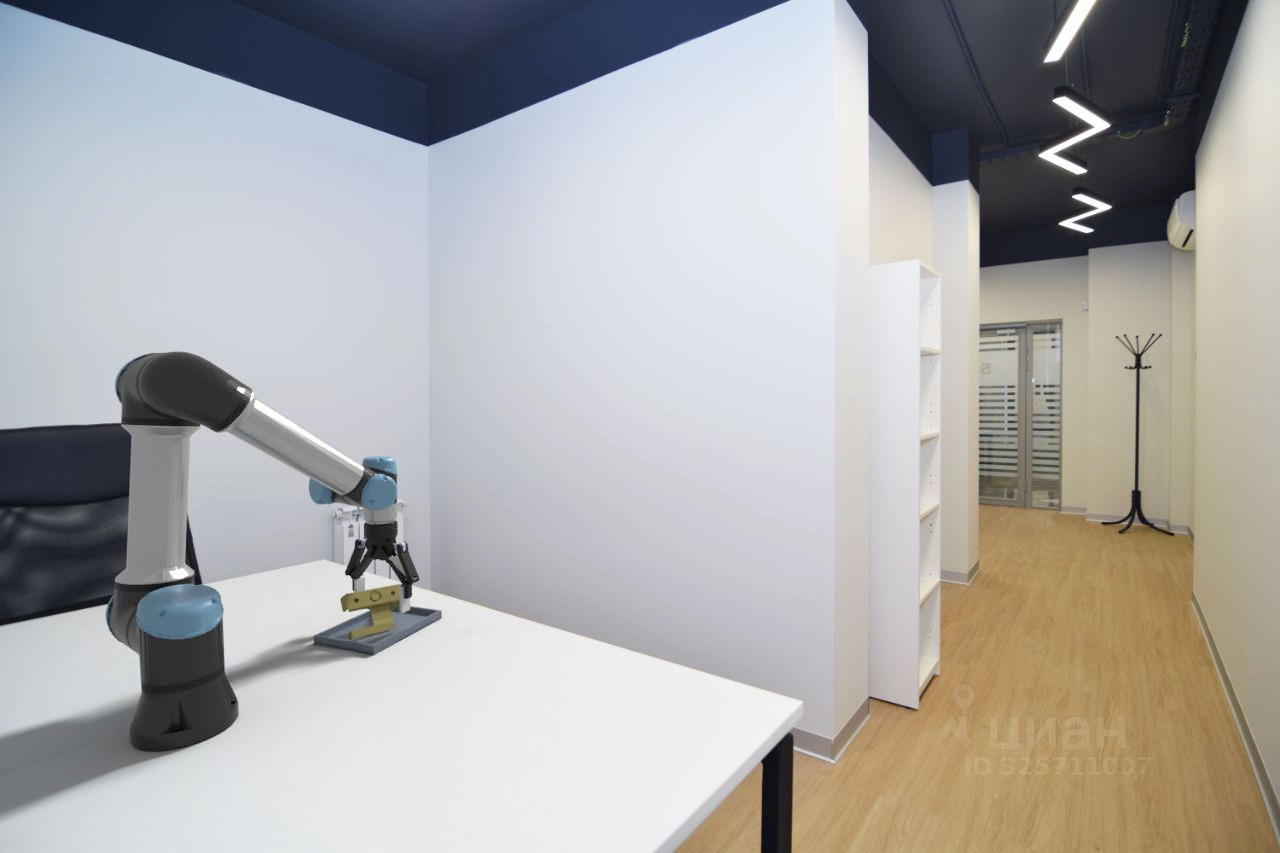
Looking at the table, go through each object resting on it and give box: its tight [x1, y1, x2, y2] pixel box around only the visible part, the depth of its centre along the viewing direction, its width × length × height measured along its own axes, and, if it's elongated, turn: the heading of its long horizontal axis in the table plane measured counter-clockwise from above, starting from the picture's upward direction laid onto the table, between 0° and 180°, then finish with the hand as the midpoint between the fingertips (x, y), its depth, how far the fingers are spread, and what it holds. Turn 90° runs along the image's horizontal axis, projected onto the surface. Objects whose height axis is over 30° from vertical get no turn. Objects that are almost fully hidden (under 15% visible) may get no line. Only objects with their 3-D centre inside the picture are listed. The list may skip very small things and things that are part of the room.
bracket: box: [339, 583, 402, 640], centre depth 152 cm, size 10×14×10 cm
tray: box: [313, 604, 443, 656], centre depth 151 cm, size 23×17×2 cm
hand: (382, 608), depth 152 cm, fingers open, 13 cm apart
